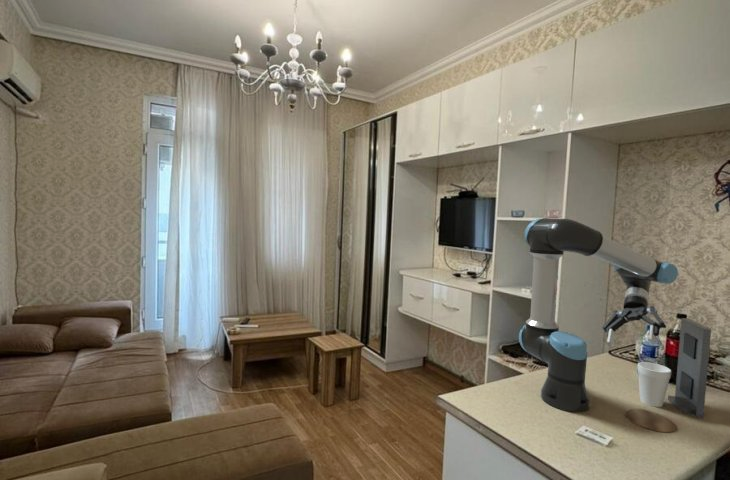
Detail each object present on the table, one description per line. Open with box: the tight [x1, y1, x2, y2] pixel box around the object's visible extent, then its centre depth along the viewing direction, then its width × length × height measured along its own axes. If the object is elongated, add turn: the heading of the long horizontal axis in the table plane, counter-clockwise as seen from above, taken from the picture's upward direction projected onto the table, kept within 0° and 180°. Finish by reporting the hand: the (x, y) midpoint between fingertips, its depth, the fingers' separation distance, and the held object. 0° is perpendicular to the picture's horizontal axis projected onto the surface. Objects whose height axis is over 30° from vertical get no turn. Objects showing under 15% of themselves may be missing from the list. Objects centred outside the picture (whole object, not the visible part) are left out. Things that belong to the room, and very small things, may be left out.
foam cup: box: [636, 361, 672, 408], centre depth 134 cm, size 10×9×13 cm
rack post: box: [667, 317, 712, 419], centre depth 130 cm, size 5×14×30 cm, turn 163°
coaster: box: [625, 408, 677, 433], centre depth 121 cm, size 13×13×1 cm
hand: (630, 343), depth 135 cm, fingers open, 13 cm apart
